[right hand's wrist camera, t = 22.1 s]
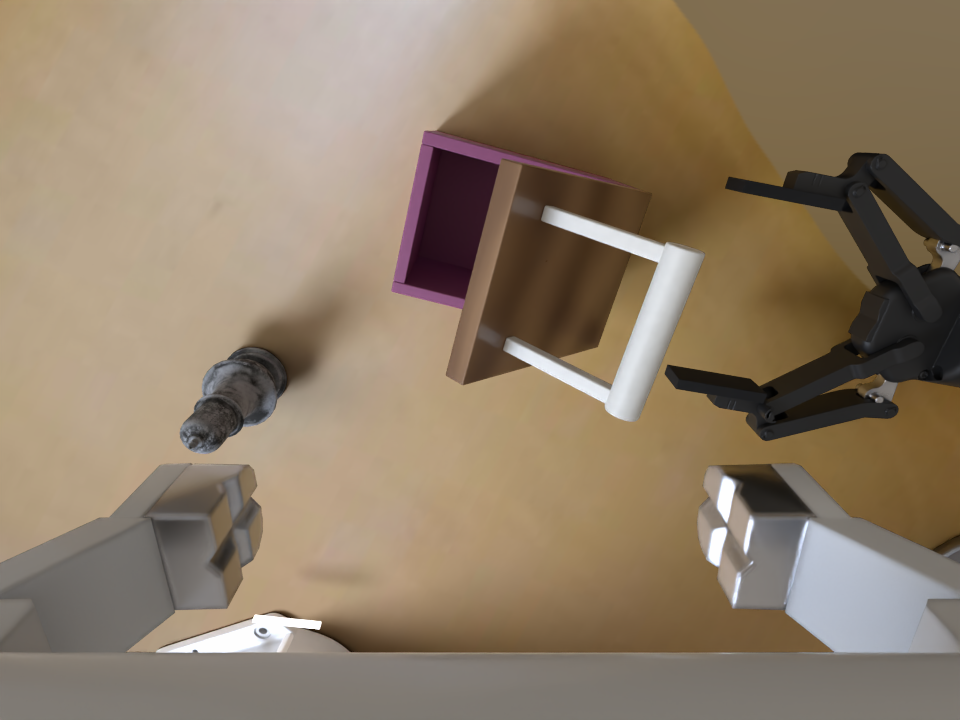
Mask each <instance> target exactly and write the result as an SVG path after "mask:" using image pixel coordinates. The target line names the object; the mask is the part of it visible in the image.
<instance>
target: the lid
mask: <svg viewBox="0 0 960 720" xmlns="http://www.w3.org/2000/svg"><path fill="white" fill-rule="evenodd" d="M651 196H652V194H651V193H649V192H645V191H642V190H638V189H634V188H630V187H626V186H621V185H617V184H613V183H608V182H604V181H600V180H595V179H591V178H587V177H582V176H578V175H574V174H569V173H565V172H561V171H556V170H552V169H548V168H543V167H539V166H534V165H530V164H526V163H521V162H517V161H513V160H508V159H504V158H502V159H501V162H500V165H499V169H498V173H497V177H496V181H495V185H494V189H493V193H492V197H491V201H490V204H489V208H488V212H487V216H486V220H485V224H484V228H483V232H482V236H481V239H480V243H479V247H478V251H477V255H476V259H475V263H474V267H473V271H472V275H471V278H470V282H469V286H468V290H467V294H466V298H465V302H464V306H463V310H462V314H461V317H460V321H459V325H458V329H457V333H456V337H455V341H454V345H453V349H452V353H451V356H450V360H449V364H448V368H447V372H446V376H448V377H449V378H451V379H453V380H454V381H456V382H458V383H460V384H461V385H466V384H469V383H473V382H476V381H480V380H483V379H487V378H490V377H494V376H497V375H501V374H504V373H508V372H511V371H515V370H519V369H522V368H526V367H529V366H534V367H536V368H538V369H540V370H542V371H544V372H546V373H548V374H550V375H551V376H553V377H555V378H557V379H559V380H561V381H563V382H565V383H567V384H569V385H571V386H573V387H575V388H576V389H578V390H580V391H582V392H584V393H586V394H588V395H590V396H592V397H594V398H596V399H598V400H599V401H601V402H603V403H605V409H606V411H607V412H608V413H610V414H611V415H613V416H615V417H617V418H619V419H622V420H625V421H637V420H638V419H639V417H640V415H641V412H642V410H643V407H644V405H645V402H646V400H647V398H648V395H649V393H650V390H651V388H652V385H653V383H654V380H655V378H656V375H657V373H658V370H659V368H660V365H661V363H662V360H663V358H664V356H665V353H666V351H667V348H668V346H669V343H670V341H671V338H672V336H673V333H674V331H675V328H676V326H677V323H678V321H679V319H680V316H681V314H682V311H683V309H684V306H685V304H686V301H687V299H688V296H689V294H690V291H691V289H692V286H693V284H694V282H695V279H696V277H697V274H698V272H699V269H700V267H701V264H702V262H703V259H704V257H705V253H704V252H702V251H700V250H697V249H694V248H691V247H688V246H685V245H682V244H678V243H673V242H666V244H664V243H661V242H658V241H655V240H652V239H649V238H646V237H643V236H640V235H638V232H639V230H640V227H641V224H642V221H643V218H644V216H645V213H646V210H647V207H648V204H649V202H650V199H651ZM631 253H632V254H635V255H638V256H641V257H644V258H646V259H649V260H652V261H655V262H658V265H657V268H656V270H655V273H654V276H653V278H652V281H651V284H650V286H649V289H648V292H647V294H646V297H645V300H644V302H643V305H642V308H641V310H640V313H639V316H638V318H637V321H636V324H635V326H634V329H633V331H632V334H631V337H630V339H629V342H628V345H627V347H626V350H625V353H624V355H623V358H622V361H621V363H620V366H619V369H618V371H617V374H616V377H615V379H614V382H613V385H611V384H609V383H607V382H605V381H603V380H601V379H599V378H597V377H595V376H593V375H591V374H589V373H587V372H585V371H583V370H581V369H579V368H577V367H575V366H573V365H571V364H569V363H567V362H565V361H563V360H561V359H559V358H561V357H564V356H568V355H571V354H575V353H578V352H582V351H586V350H589V349H593V348H596V347H598V345H599V342H600V339H601V336H602V333H603V331H604V328H605V325H606V322H607V319H608V317H609V314H610V311H611V308H612V305H613V302H614V300H615V297H616V294H617V291H618V288H619V286H620V283H621V280H622V277H623V274H624V272H625V269H626V266H627V263H628V260H629V258H630V255H631Z"/></svg>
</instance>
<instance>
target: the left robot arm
mask: <svg viewBox="0 0 960 720" xmlns="http://www.w3.org/2000/svg"><path fill="white" fill-rule="evenodd" d="M725 189H729V190H734V191H738V192H742V193H747V194H753V195H758V196H763V197H768V198H773V199H779V200H784V201H789V202H794V203H799V204H805V205H810V206H815V207H820V208H825V209H831V210H836V211H838V213H839V214H840V216H841V218H842V220H843V221H844V223H845V225H846V227H847V228H848V230H849V232H850V233H851V235H852V237H853V239H854V240H855V242H856V244H857V246H858V247H859V249H860V251H861V252H862V254H863V256H864V258H865V259H866V261H867V263H868V266H867V269H868V271H869V272H870V274H871V276H872V278H873V279H874V281H875V283H876V285H877V286H875V287H874V288H873V289H872V290H871V291H870V292H867V291H866V293H865V295H864V297H863V300H862V303H861V308H860V313H859V314H858V316H857V317H856V318H855V320H854V321H853V322H852V324H851V327H850V329H849V331H848V332H849V333H851V339H849V340H847V341H845V342H842V343H840V344H838V345H836V346H834V347H833V348H832V349H831V352H830V353H828V354H826V355H824V356H822V357H820V358H818V359H816V360H814V361H812V362H809V363H807V364H805V365H803V366H801V367H799V368H797V369H795V370H793V371H791V372H789V373H786V374H784V375H782V376H780V377H778V378H776V379H774V380H772V381H770V382H768V383H765V384H763V385H761V386H758V385H757V384H756V383H755V382H753V381H752V380H751V379H748V378H743V377H737V376H731V375H725V374H719V373H713V372H707V371H701V370H696V369H690V368H684V367H678V366H672V365H667V368H666V371H665V375H666V376H667V378H668V379H669V380H670V382H671V383H672V384H673V386H674V387H675V388H676V389H680V390H686V391H692V392H698V393H704V394H707V397H708V398H709V399H710V401H711V402H712V403H713V404H714V405H716V406H717V407H719V408H724V409H730V410H736V411H742V412H748V413H749V414H748V415H747V417H746V422H747V424H748V425H749V426H750V427H751V428H752V429H753V430H754V431H755V432H756V434H757V435H758V436H759V437H760V438H761V439H762V440H765V441H769V440H773V439H778V438H782V437H786V436H790V435H794V434H798V433H802V432H806V431H810V430H815V429H819V428H823V427H827V426H831V425H835V424H839V423H843V422H847V421H852V420H856V419H860V418H864V417H868V418H885V419H888V418H892V417H894V416H895V415H896V414H897V413H898V406H897V405H896V404H894V403H893V402H891V401H892V398H893V395H894V392H895V390H896V387H897V384H898V383H899V382H904V381H907V380H921V381H926V382H932V383H937V384H943V385H949V386H955V387H960V276H958V275H957V274H956V272H955V271H954V269H955V268H956V266H957V265H958V263H959V261H960V225H959V224H957V223H956V222H955V221H954V220H953V219H952V218H951V217H950V216H949V215H948V214H947V213H946V212H945V211H944V210H943V209H942V208H941V207H940V206H939V205H938V204H937V203H936V202H935V201H934V200H933V199H932V198H931V197H930V196H929V195H928V194H927V193H926V192H925V191H924V190H923V189H922V188H921V187H920V186H919V185H918V184H917V183H916V182H915V181H914V180H913V179H912V178H911V177H910V176H909V175H908V174H907V173H906V172H905V171H904V170H903V169H902V168H901V167H900V166H899V165H898V164H897V163H896V162H895V161H894V160H893V159H892V158H891V157H890V156H888V155H887V154H879V153H855V154H853V155H852V156H851V157H850V158H849V160H848V167H847V168H846V169H845V171H844V172H843V173H842V174H840V175H839V176H837V177H832V176H827V175H822V174H817V173H812V172H806V171H798V170H795V171H790V172H788V173H787V176H786V179H785V181H784V184H783V187H780V186H774V185H769V184H764V183H759V182H754V181H749V180H743V179H738V178H732V177H729V178H728V181H727V184H726V187H725ZM870 190H871V191H872V192H873V193H874V194H875V195H876V196H877V197H878V198H879V199H881V200H882V201H883V202H884V203H885V204H886V205H887V206H888V207H889V208H890V209H891V210H892V211H893V212H894V213H895V214H896V215H897V216H898V217H899V218H900V219H901V220H903V221H904V222H905V223H906V224H907V225H908V226H909V227H910V228H911V229H912V230H913V231H914V232H916V233H917V234H919V235H921V236H923V237H925V238H926V239H925V240H924V245H925V246H926V247H927V250H928V251H929V252H930V253H932V255H933V261H932V263H931V264H925V265H922V266H920V267H918V268H917V267H916V266H915V265H913V264H912V263H911V262H910V261H909V260H908V258H907V257H906V255H905V253H904V251H903V249H902V248H901V246H900V244H899V242H898V240H897V238H896V237H895V235H894V233H893V231H892V229H891V227H890V226H889V224H888V222H887V220H886V218H885V217H884V215H883V213H882V211H881V209H880V207H879V206H878V204H877V202H876V200H875V198H874V197H873V195H872V193H871V191H870ZM859 354H860V355H861V356H862V357H863V358H860V357H858V356H856V355H859ZM874 374H877V377H876V379H875V380H874V381H873V382H871V383H867V384H862V383H859V384H857V385H856V389H844V390H839V391H834V392H830V393H826V394H823V393H825V392H827V391H829V390H831V389H833V388H836V387H838V386H840V385H842V384H844V383H846V382H848V381H851V380H853V379H864V378H868V377H870V376H872V375H874ZM820 394H822V395H820ZM933 551H934V552H936V553H939V554H941V555H943V556H945V557H947V558H949V559H952V560H954V561H956V562H958V563H960V536H958V537H956V538H953V539H951V540H949V541H947V542H946V543H944V544H942V545H940V546H939V547H937V548H936V549H934V550H933Z"/></svg>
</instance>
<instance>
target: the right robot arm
mask: <svg viewBox="0 0 960 720" xmlns="http://www.w3.org/2000/svg"><path fill="white" fill-rule="evenodd" d="M256 487H257V482H256V477H255V473H254V469H253V468H252V467H251V466H250V465H236V464H191V463H178V464H163V465H160V466H159V467H158V468H157V469H156V470H155V471H154V472H153V473H152V474H151V475H150V476H149V477H148V478H147V479H146V480H145V481H144V482H143V483H142V484H141V485H140V486H139V487H138V488H137V489H136V490H135V491H134V492H133V493H132V494H131V495H130V496H129V497H128V498H127V499H126V501H125V502H124V503H123V504H122V505H121V506H120V507H119V508H118V509H117V510H116V511H115V512H114V513H113V514H112V515H111V516H110V517H109V518H98V519H96V520H93V521H91V522H89V523H87V524H85V525H82V526H80V527H78V528H76V529H74V530H72V531H69V532H67V533H65V534H63V535H61V536H58V537H56V538H54V539H52V540H50V541H47V542H45V543H43V544H41V545H39V546H37V547H34V548H32V549H30V550H28V551H26V552H23V553H21V554H19V555H17V556H15V557H12V558H10V559H8V560H6V561H4V562H2V563H0V720H960V563H958V562H956V561H954V560H952V559H949V558H947V557H945V556H943V555H941V554H939V553H936V552H934V551H932V550H930V549H928V548H926V547H923V546H921V545H919V544H917V543H915V542H912V541H910V540H908V539H906V538H904V537H902V536H899V535H897V534H895V533H893V532H891V531H888V530H886V529H884V528H882V527H880V526H878V525H875V524H873V523H871V522H869V521H867V520H864V519H862V518H851V517H850V516H849V515H848V514H847V513H846V512H845V511H844V510H843V509H842V508H841V507H840V506H839V505H838V504H837V503H836V501H835V500H834V499H833V498H832V497H831V496H830V495H829V494H828V493H827V492H826V491H825V490H824V489H823V488H822V487H821V486H820V485H819V484H818V483H817V482H816V481H815V480H814V479H813V478H812V477H811V476H810V475H809V474H808V473H807V472H806V471H805V469H804V468H803V467H802V466H800V465H797V464H795V463H782V464H756V465H716V466H708V468H707V471H706V473H705V476H704V482H703V487H704V489H705V490H706V492H707V494H708V495H709V497H708V498H707V499H706V500H705V501H704V502H703V503H702V504H701V505H700V506H699V511H698V519H697V529H698V539H699V542H700V546H701V549H702V551H703V553H704V555H705V557H706V559H707V560H708V561H709V562H711V563H712V564H714V565H715V566H717V567H718V568H719V570H718V576H717V580H718V582H719V584H720V585H721V587H722V589H723V591H724V593H725V595H726V597H727V598H728V600H729V602H730V604H731V606H732V608H733V609H768V610H785V613H786V614H788V615H789V616H790V617H791V618H793V619H794V620H795V621H796V622H798V623H799V624H800V625H801V626H803V627H804V628H805V629H806V630H808V631H809V632H810V633H811V634H813V635H814V636H815V637H816V638H818V639H819V640H820V641H822V642H823V643H824V644H825V645H827V646H828V647H829V648H830V649H832V650H833V651H834V652H349V651H348V650H347V649H346V648H345V647H344V646H342V645H341V644H339V643H338V642H336V641H334V640H333V639H331V638H329V637H326V636H324V635H321V634H319V633H316V632H312V631H309V630H306V629H304V628H312V629H320V626H321V622H320V621H311V620H301V619H291V618H287V617H285V616H283V615H281V614H278V613H269V614H266V615H262V616H261V615H255V616H254V618H253V619H250V620H247V621H244V622H241V623H237V624H234V625H231V626H228V627H225V628H222V629H219V630H216V631H212V632H209V633H206V634H203V635H200V636H197V637H194V638H191V639H187V640H184V641H181V642H178V643H175V644H172V645H169V646H166V647H163V648H160V649H158V650H157V651H156V652H126V651H127V650H129V649H130V648H131V647H132V646H134V645H135V644H136V643H137V642H139V641H140V640H141V639H142V638H144V637H145V636H146V635H147V634H149V633H150V632H151V631H152V630H154V629H155V628H156V627H158V626H159V625H160V624H161V623H163V622H164V621H165V620H166V619H168V618H169V617H170V616H171V615H173V614H174V613H175V610H192V609H227V608H228V606H229V604H230V602H231V600H232V599H233V597H234V595H235V593H236V591H237V589H238V587H239V585H240V584H241V582H242V580H243V576H242V570H241V568H242V567H243V566H245V565H246V564H248V563H249V562H251V561H252V560H253V559H254V557H255V555H256V553H257V551H258V549H259V546H260V541H261V537H262V532H263V517H262V511H261V506H260V505H259V504H258V503H257V502H256V501H255V500H254V499H253V498H252V497H251V495H252V494H253V492H254V490H255V489H256ZM301 627H302V628H301Z"/></svg>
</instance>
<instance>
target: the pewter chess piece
mask: <svg viewBox="0 0 960 720" xmlns="http://www.w3.org/2000/svg"><path fill="white" fill-rule="evenodd" d="M286 383H287V376H286V372H285V369H284V367H283V365H282V364H281V362H280V361H279V360H278V359H277V358H276V357H275V356H274V355H273V354H271V353H269V352H268V351H266V350H263V349H260V348H252V347H248V348H243V349H240V350H238V351H236V352H234V353H233V354H232V355H231V356H230V357H229V358H228V360H225V361H221V362H219V363H217V364H215V365H214V366H213V367H212V368H210V369H209V370H208V371H207V373H206V375H205V377H204V379H203V384H202V392H203V397H202V398H201V399H200V400H199V401H198V402H197V403H196V405H195V407H194V413H193V414H192V415H191V416H190V417H189V418H188V419H187V420H186V421H185V422H184V423H183V425H182V427H181V429H180V438H181V440H182V442H183V444H184V445H185V446H186V447H187V448H188V449H189V450H191V451H193V452H196V453H201V454H207V453H211V452H213V451H215V450H217V449H218V448H219V447H220V446H221V445H222V444H223V442H224V441H225V440H226V439H227V438H228V437H231V436H233V435H236V434H237V433H238V432H239V431H240V430H241V429H242V427H243V426H245V427H248V426H254V425H258V424H260V423H262V422H264V421H265V420H266V419H267V418H269V417H270V416H271V414H272V413H273V411H274V409H275V407H276V403H277V399H278V398H279V397H280V396H281V395H282V393H283V392H284V390H285V388H286Z"/></svg>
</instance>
